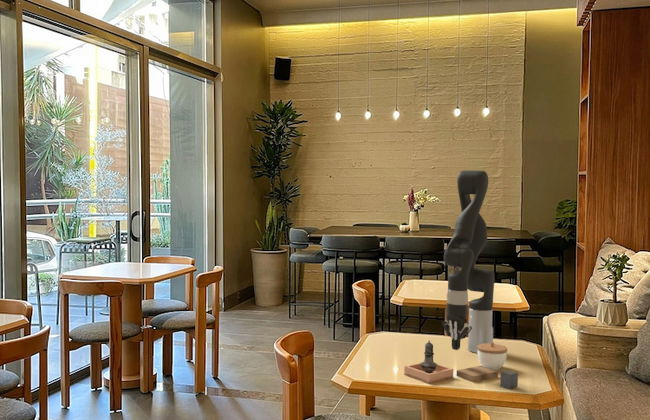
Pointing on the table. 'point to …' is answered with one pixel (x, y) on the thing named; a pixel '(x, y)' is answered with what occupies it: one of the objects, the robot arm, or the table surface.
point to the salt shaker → (428, 359)
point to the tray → (438, 375)
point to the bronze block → (477, 373)
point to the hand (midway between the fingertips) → (455, 349)
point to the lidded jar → (492, 355)
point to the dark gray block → (509, 379)
